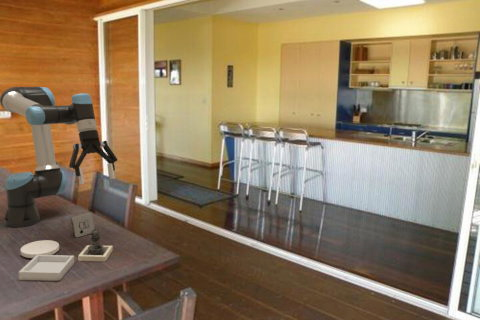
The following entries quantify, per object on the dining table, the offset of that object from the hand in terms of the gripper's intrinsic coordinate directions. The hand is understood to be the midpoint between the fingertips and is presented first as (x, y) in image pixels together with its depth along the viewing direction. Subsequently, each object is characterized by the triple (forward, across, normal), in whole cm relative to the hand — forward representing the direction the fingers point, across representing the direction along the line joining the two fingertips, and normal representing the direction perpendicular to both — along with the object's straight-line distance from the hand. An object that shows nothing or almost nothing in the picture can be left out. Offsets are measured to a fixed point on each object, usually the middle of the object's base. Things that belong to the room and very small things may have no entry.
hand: (97, 181), depth 169 cm
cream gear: (+24, -21, +18) cm, 36 cm away
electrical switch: (+21, 0, +24) cm, 32 cm away
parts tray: (+29, -26, 0) cm, 39 cm away
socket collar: (+29, -6, +1) cm, 30 cm away
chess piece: (+29, -6, +1) cm, 30 cm away
